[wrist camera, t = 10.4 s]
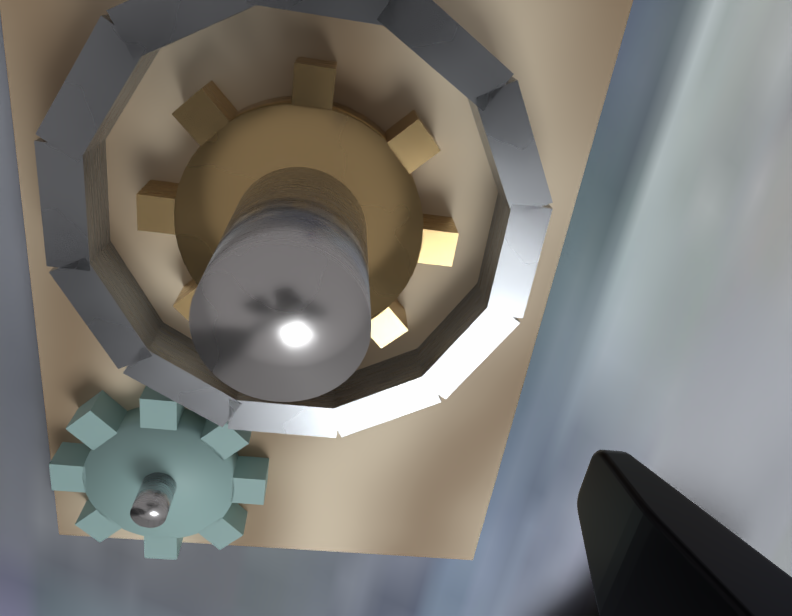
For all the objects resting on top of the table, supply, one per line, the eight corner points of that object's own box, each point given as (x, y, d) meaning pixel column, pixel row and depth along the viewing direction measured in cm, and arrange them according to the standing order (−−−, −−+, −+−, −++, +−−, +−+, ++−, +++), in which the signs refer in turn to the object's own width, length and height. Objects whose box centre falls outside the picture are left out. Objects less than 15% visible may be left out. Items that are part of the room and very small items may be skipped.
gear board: (73, 507, 22) (29, 590, 19) (3, -209, 13) (-97, -260, 10) (467, 533, 24) (483, 614, 21) (637, -87, 15) (708, -102, 12)
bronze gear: (153, 329, 18) (70, 477, 13) (147, 33, 15) (29, 68, 9) (424, 355, 19) (452, 504, 14) (478, 83, 16) (543, 140, 10)
